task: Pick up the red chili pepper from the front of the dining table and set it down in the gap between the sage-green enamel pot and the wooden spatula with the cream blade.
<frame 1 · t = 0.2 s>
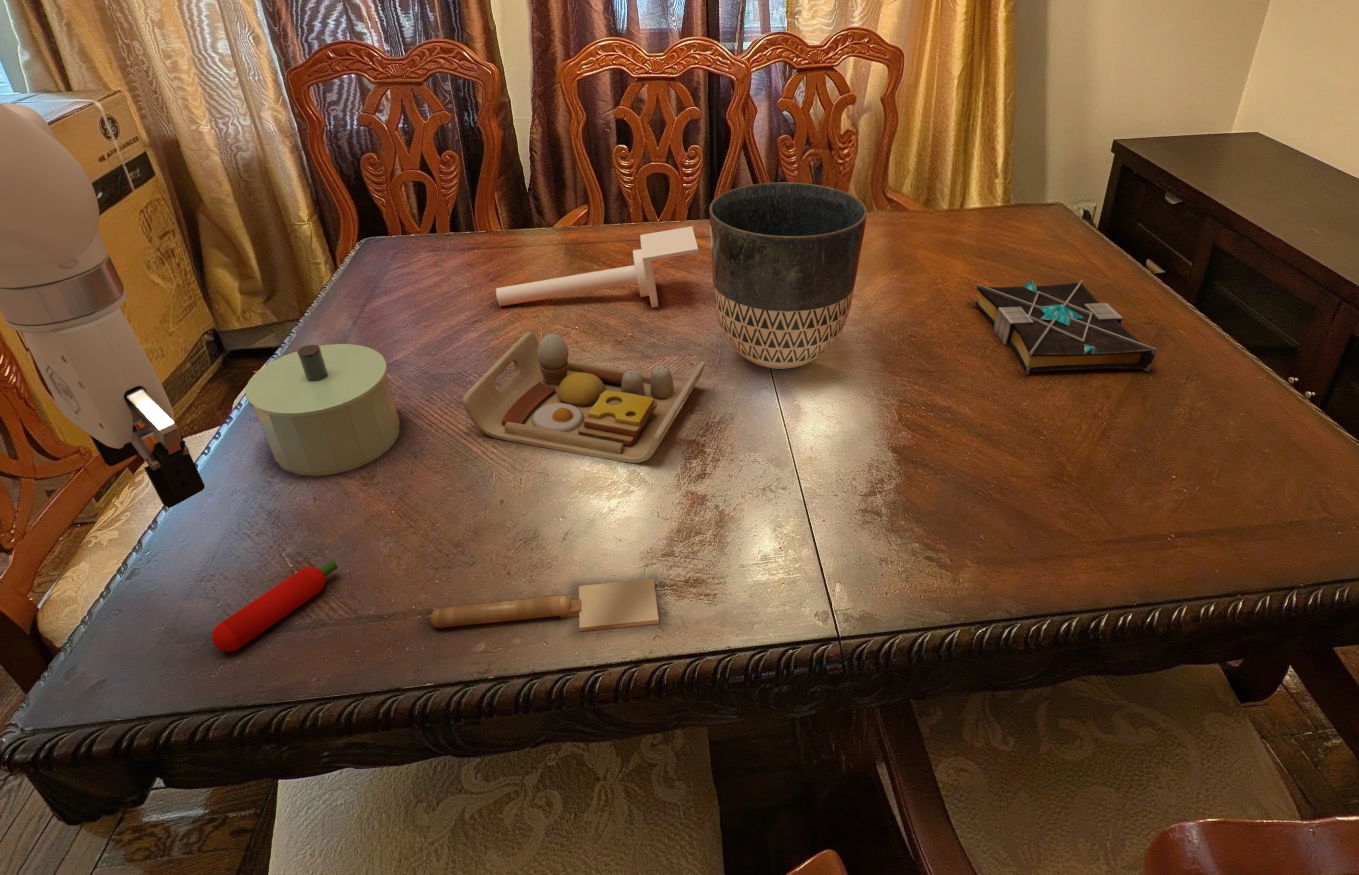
hand: (155, 476, 68), 15 cm above the table, tool pointing down, fingers open, 9 cm apart
book: (1053, 337, 116), on the table
planter: (778, 358, 112), on the table
chili pepper: (275, 617, 75), on the table
spatula: (551, 613, 75), on the table
pot: (338, 439, 98), on the table
pot lid: (318, 379, 93), point 8 cm above the table, touching pot
toy food set: (591, 412, 102), on the table
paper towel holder: (598, 301, 128), on the table
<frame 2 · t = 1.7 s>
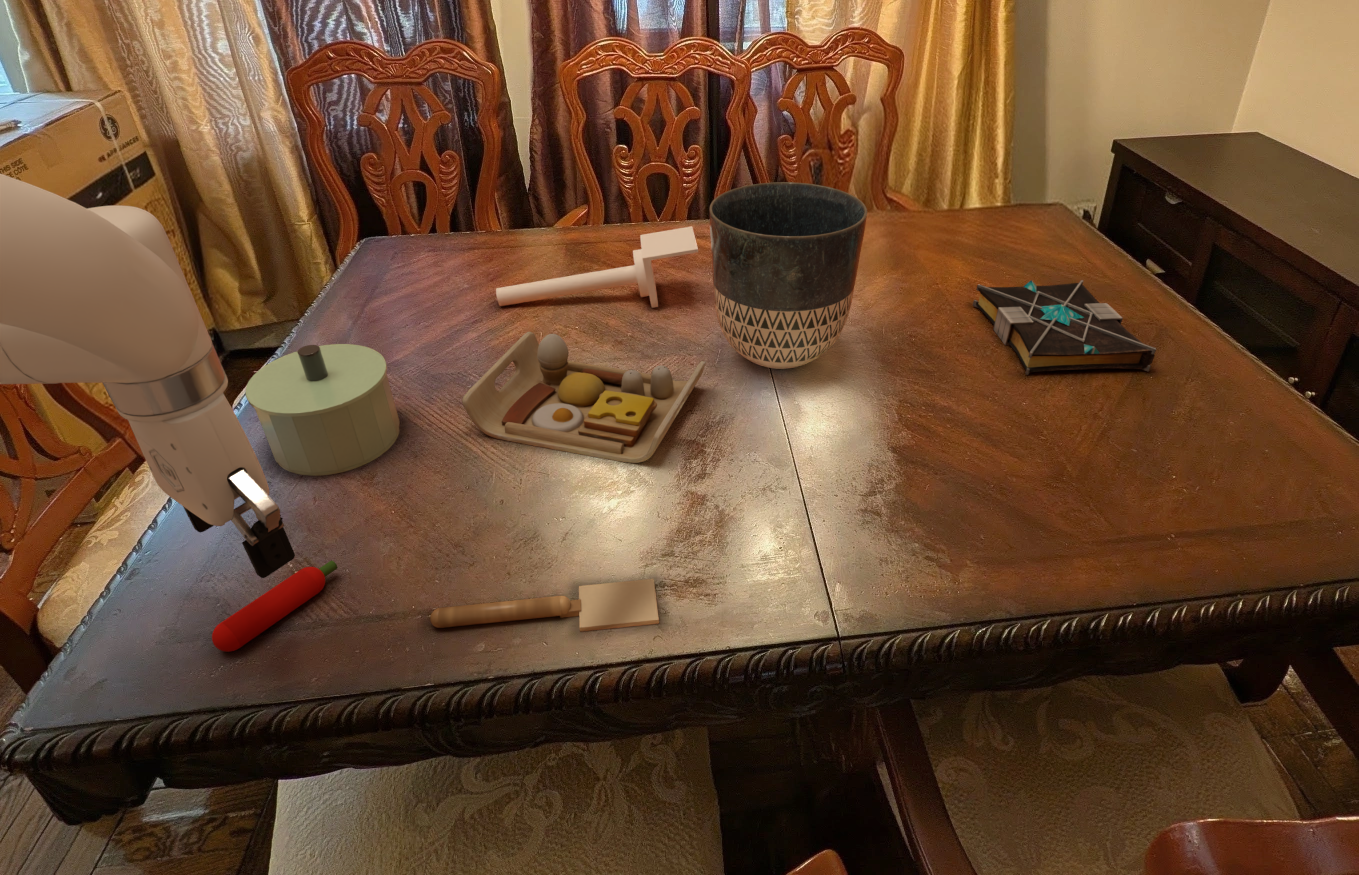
hand: (245, 544, 70), 9 cm above the table, tool pointing down, fingers open, 9 cm apart
nothing on the table moved.
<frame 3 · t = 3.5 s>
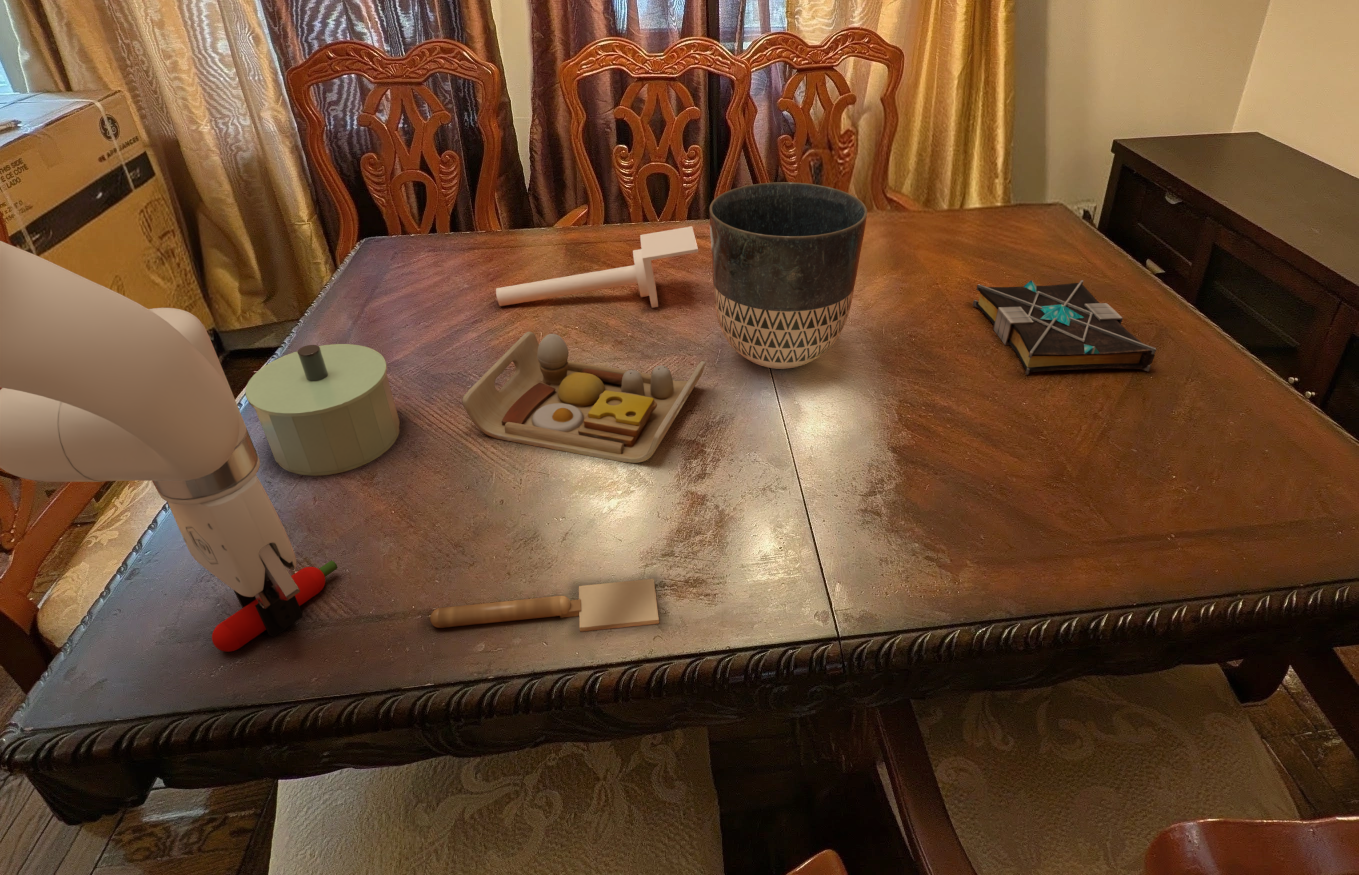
hand: (275, 616, 75), 0 cm above the table, tool pointing down, fingers closed on chili pepper, 2 cm apart
chili pepper: (275, 617, 75), on the table, touching gripper
everything else where it was.
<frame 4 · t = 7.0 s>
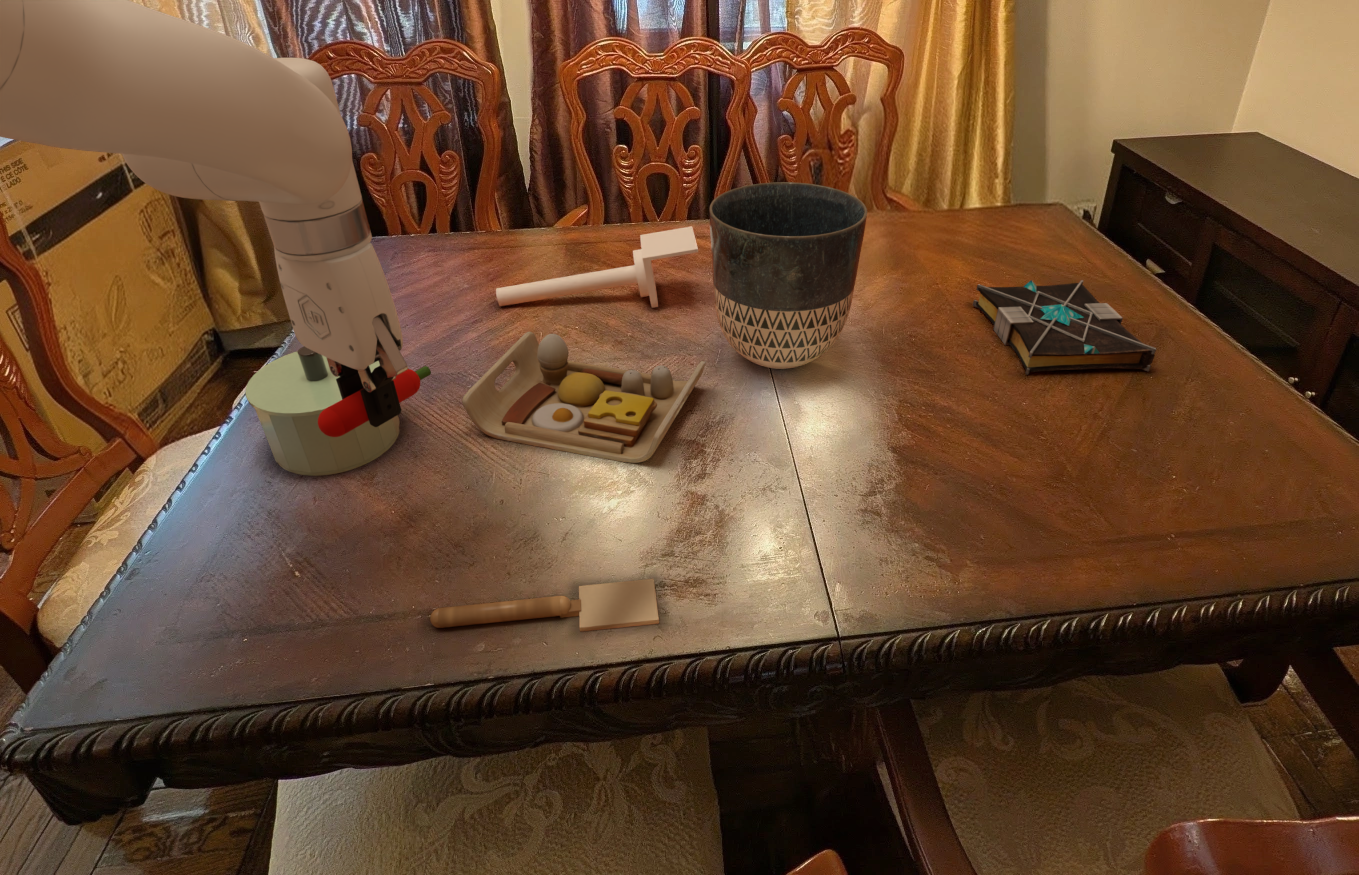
hand: (374, 412, 76), 15 cm above the table, tool pointing down, fingers closed on chili pepper, 2 cm apart
chili pepper: (374, 413, 76), point 15 cm above the table, touching gripper
everything else where it was.
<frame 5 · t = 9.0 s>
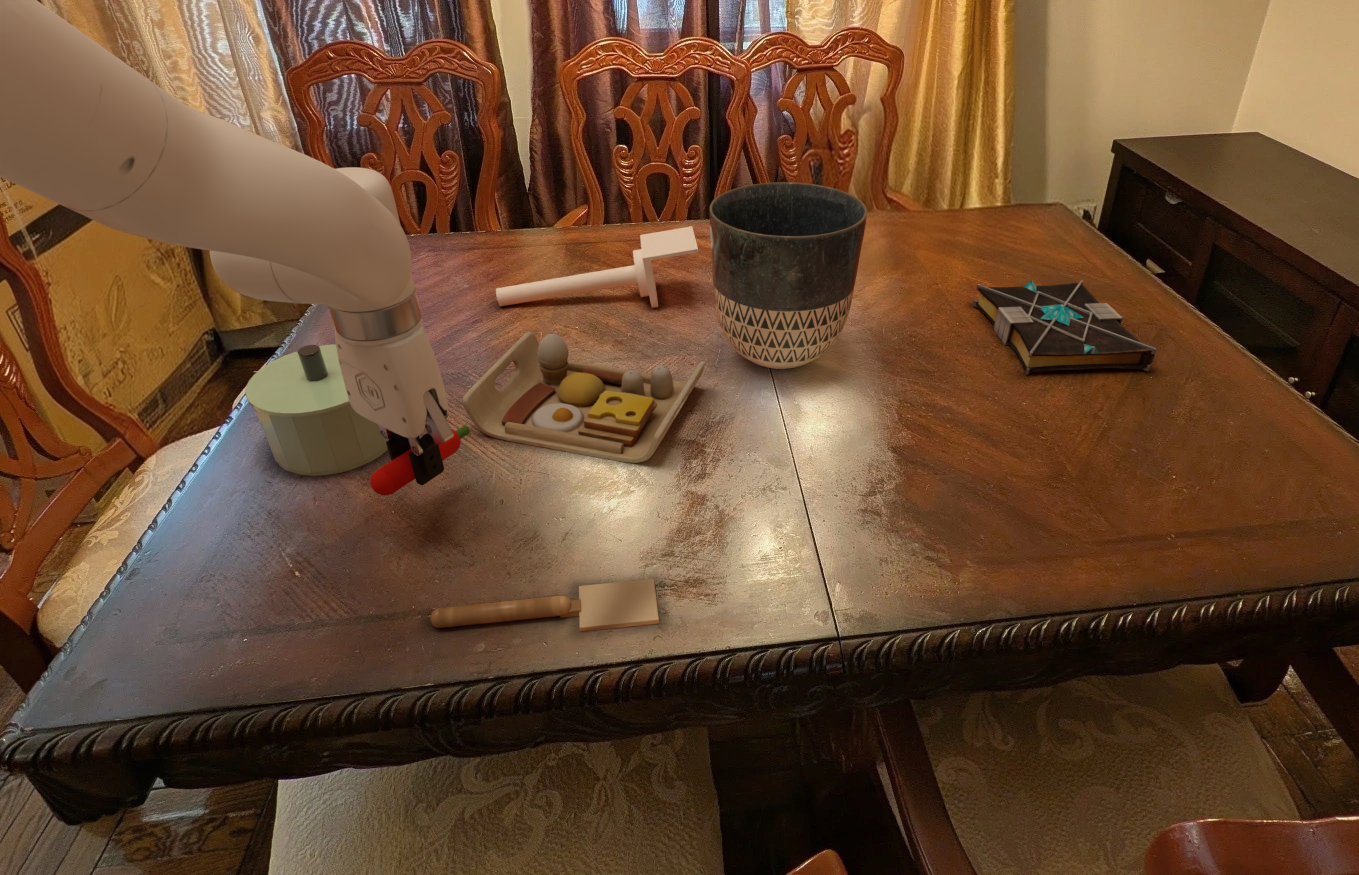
hand: (419, 470, 83), 6 cm above the table, tool pointing down, fingers closed on chili pepper, 2 cm apart
chili pepper: (420, 471, 83), point 6 cm above the table, touching gripper
everything else where it was.
when the fingers open (0 cm above the table, at t = 10.6 s): chili pepper stays where it is, on the table.
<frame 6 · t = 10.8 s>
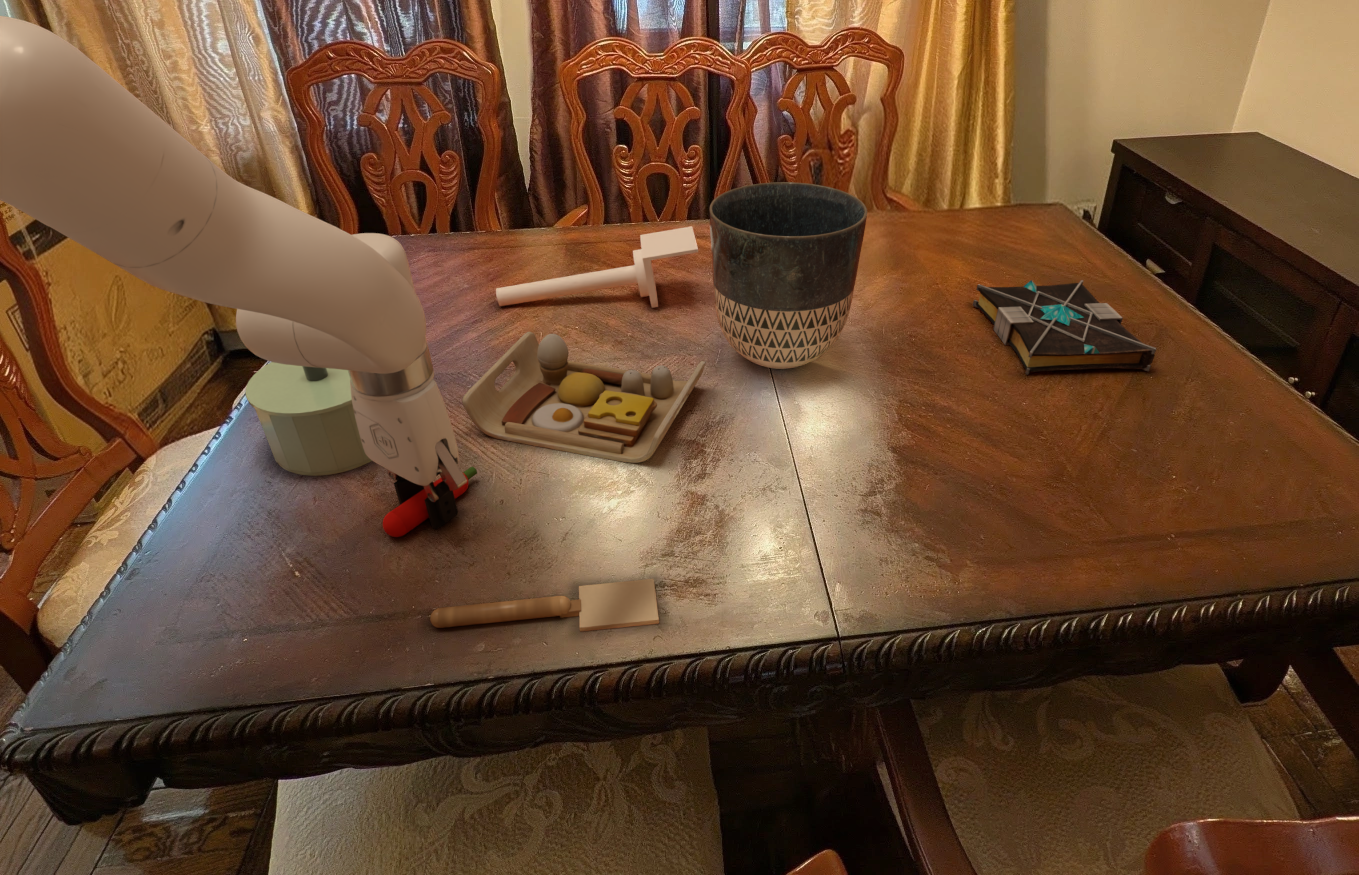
hand: (429, 511, 86), 0 cm above the table, tool pointing down, fingers open, 4 cm apart
chili pepper: (430, 512, 87), on the table
everything else where it was.
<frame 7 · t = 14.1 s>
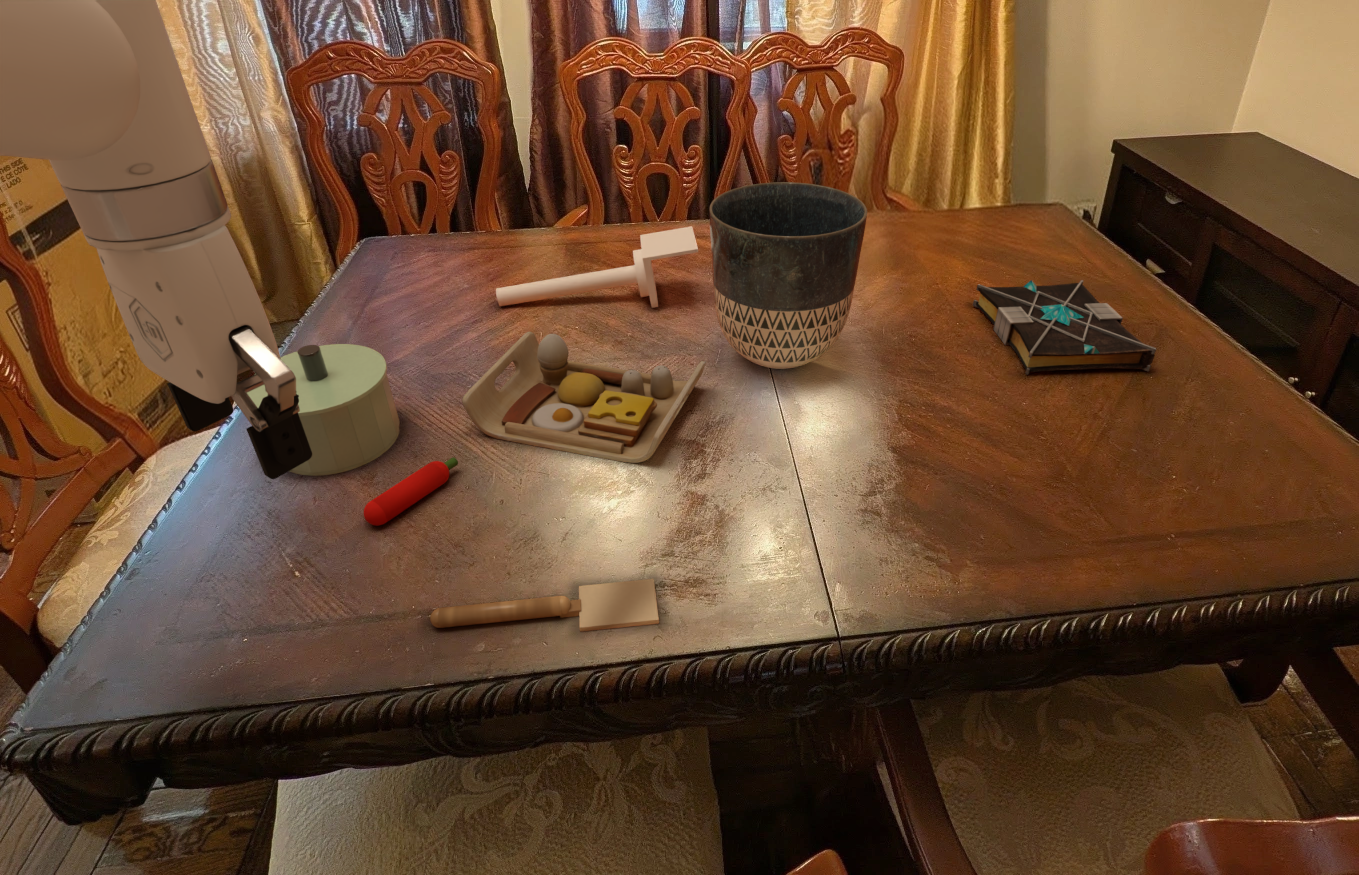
hand: (249, 443, 56), 24 cm above the table, tool pointing down, fingers open, 9 cm apart
chili pepper: (412, 488, 86), point 2 cm above the table, tilted 133°
everything else where it was.
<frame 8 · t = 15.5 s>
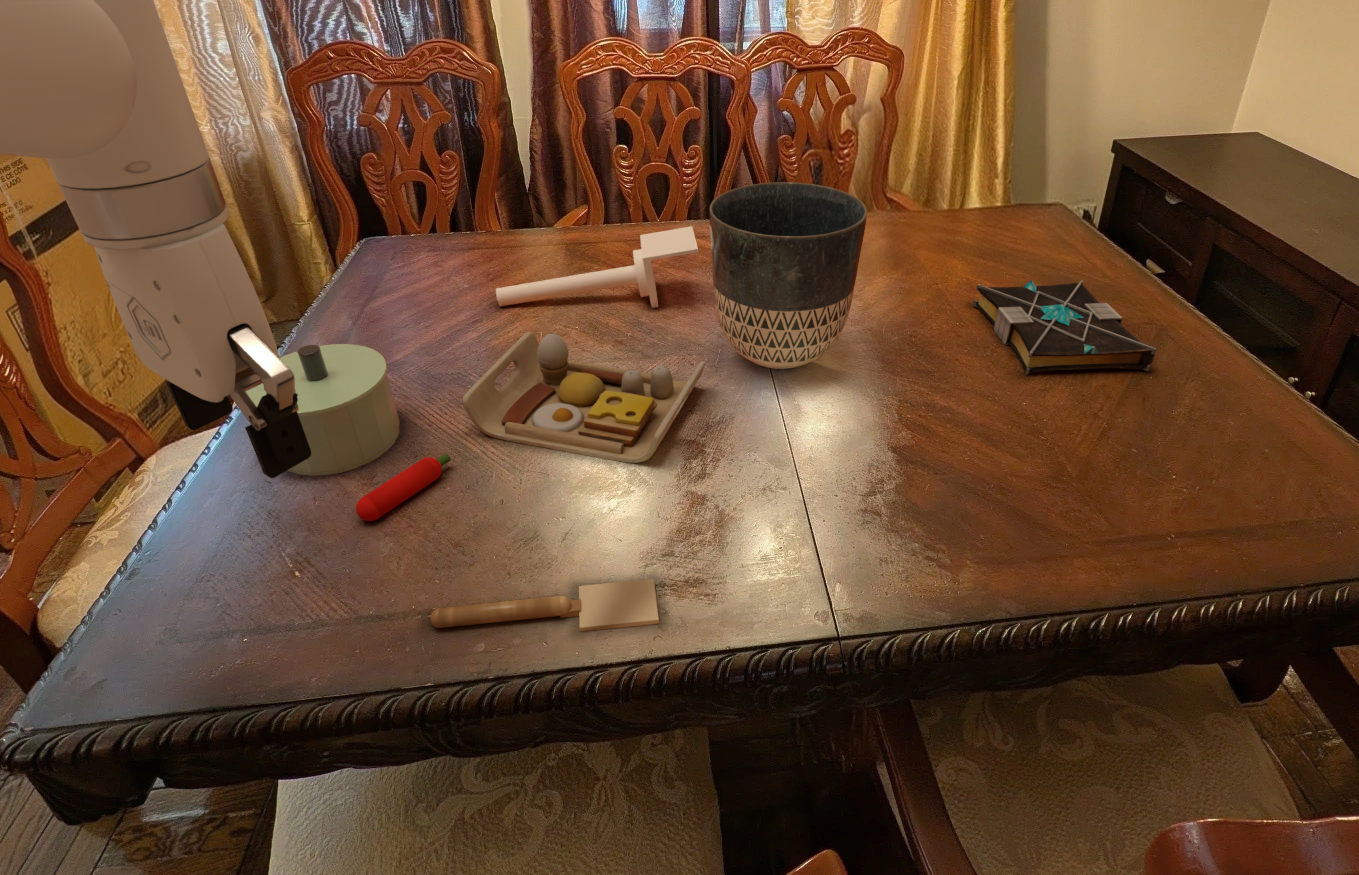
hand: (248, 442, 56), 24 cm above the table, tool pointing down, fingers open, 9 cm apart
chili pepper: (397, 477, 87), point 3 cm above the table, tilted 176°
everything else where it was.
at the end: chili pepper inside the target area (4.8 cm from its centre), point 2.8 cm above the table; chili pepper 16.0 cm from the pot (horizontally); chili pepper 25.5 cm from the spatula (horizontally) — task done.
